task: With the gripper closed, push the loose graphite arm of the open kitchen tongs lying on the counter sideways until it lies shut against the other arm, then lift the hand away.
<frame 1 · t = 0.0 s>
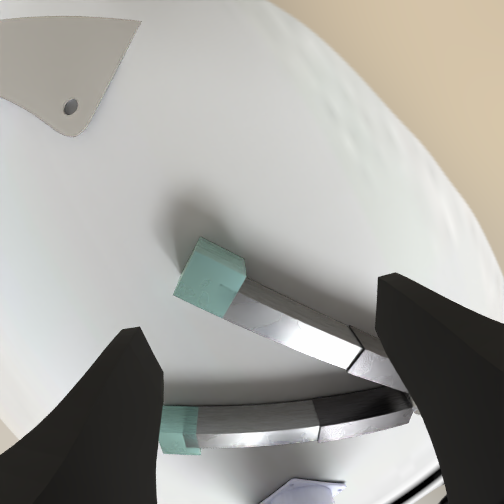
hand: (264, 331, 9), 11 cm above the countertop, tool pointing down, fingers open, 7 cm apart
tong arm: (304, 421, 21), point 2 cm above the countertop, hinge at 30.0°
tongs fixed arm: (407, 378, 24), on the countertop
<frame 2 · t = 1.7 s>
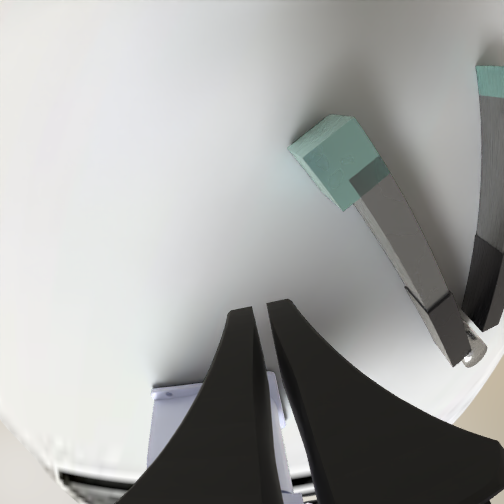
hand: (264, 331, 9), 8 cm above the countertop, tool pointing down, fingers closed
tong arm: (426, 279, 17), point 2 cm above the countertop, hinge at 30.0°
tongs fixed arm: (454, 329, 22), on the countertop
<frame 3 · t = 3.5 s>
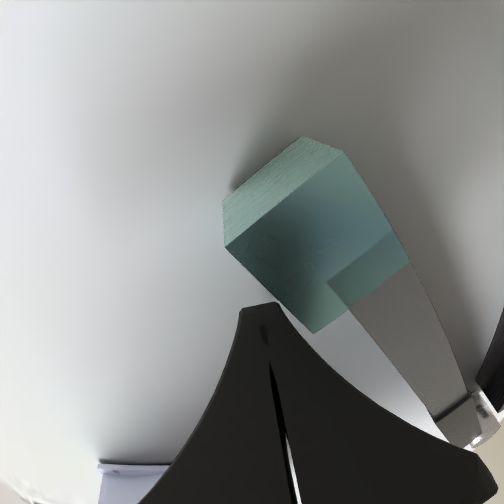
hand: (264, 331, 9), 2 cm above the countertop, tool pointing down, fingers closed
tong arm: (440, 376, 11), point 2 cm above the countertop, hinge at 29.7°, touching gripper
tongs fixed arm: (463, 400, 16), on the countertop
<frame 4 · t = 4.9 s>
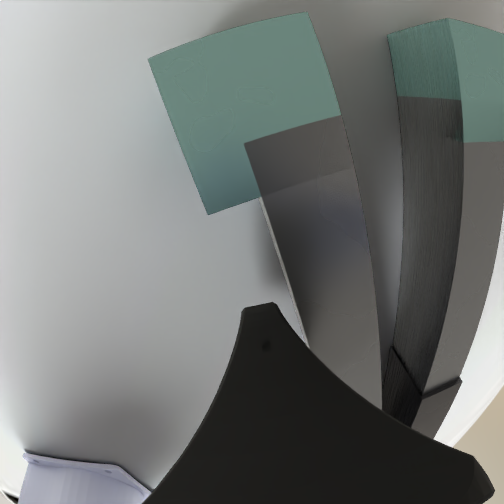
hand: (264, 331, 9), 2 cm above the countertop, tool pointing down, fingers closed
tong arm: (353, 387, 10), point 2 cm above the countertop, hinge at 7.9°, touching gripper
tongs fixed arm: (368, 440, 16), on the countertop
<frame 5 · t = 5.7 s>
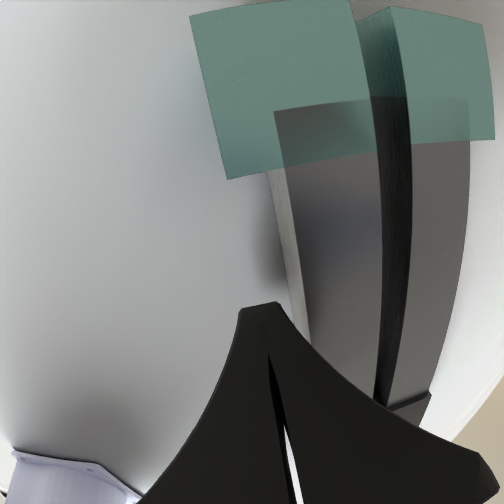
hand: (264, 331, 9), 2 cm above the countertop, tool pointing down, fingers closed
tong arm: (341, 387, 10), point 2 cm above the countertop, hinge at 1.3°, touching gripper
tongs fixed arm: (345, 447, 16), on the countertop
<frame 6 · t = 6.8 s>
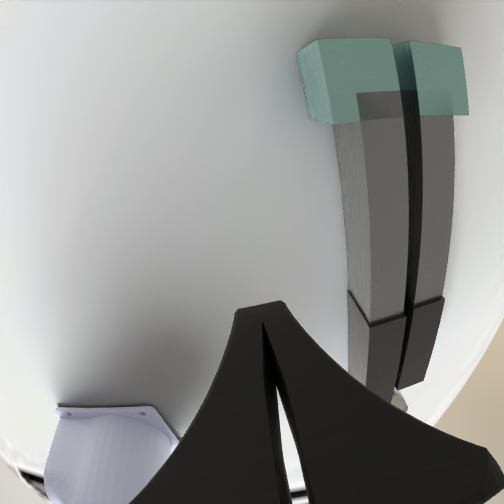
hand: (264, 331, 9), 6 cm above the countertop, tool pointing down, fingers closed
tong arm: (381, 288, 14), point 2 cm above the countertop, hinge at 1.2°
tongs fixed arm: (374, 377, 21), on the countertop
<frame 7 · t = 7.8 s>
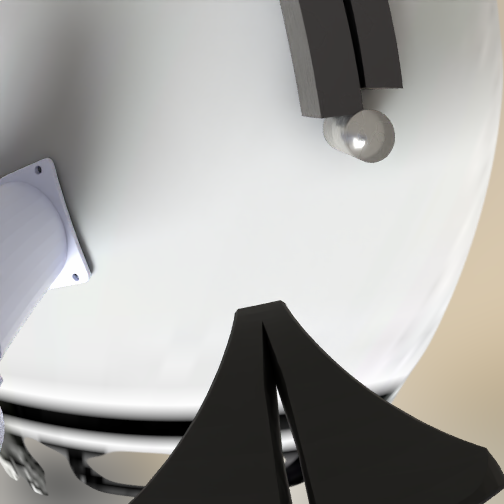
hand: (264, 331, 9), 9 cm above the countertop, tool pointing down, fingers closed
tongs fixed arm: (341, 128, 16), on the countertop
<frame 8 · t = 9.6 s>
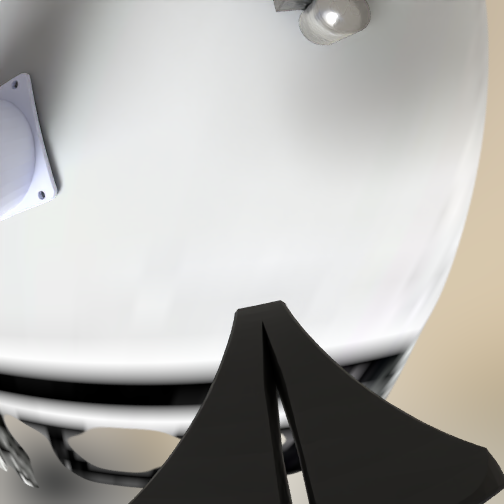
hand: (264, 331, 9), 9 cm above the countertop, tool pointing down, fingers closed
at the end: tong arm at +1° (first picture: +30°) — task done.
